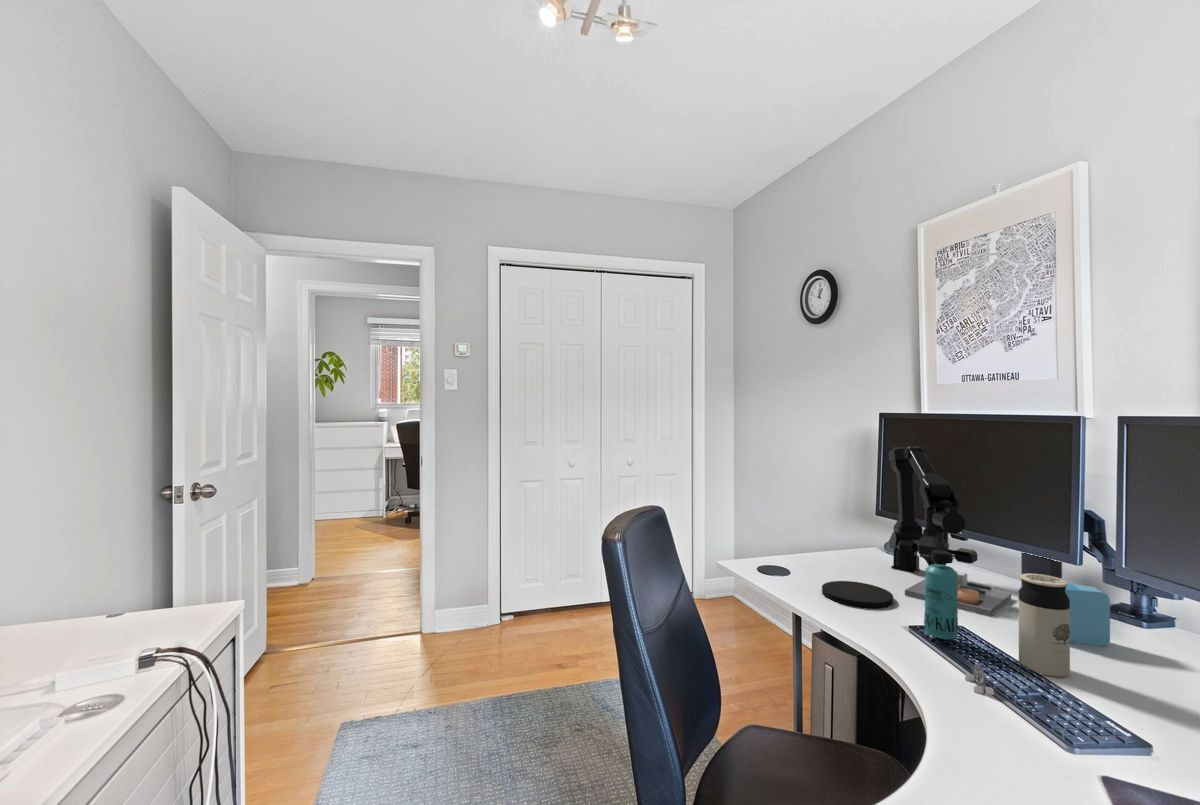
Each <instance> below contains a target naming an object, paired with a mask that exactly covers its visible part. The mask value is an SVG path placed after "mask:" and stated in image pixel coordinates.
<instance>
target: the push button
mask: <svg viewBox="0 0 1200 805" xmlns="http://www.w3.org/2000/svg"><path fill="white" fill-rule="evenodd" d="M957 601H958V602H962V603H966V604H970V605H974V606H978V604H979V592H978V591H975V590H972V589H968V588H957Z"/></svg>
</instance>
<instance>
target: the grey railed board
mask: <svg viewBox="0 0 1200 805" xmlns="http://www.w3.org/2000/svg"><path fill="white" fill-rule="evenodd" d="M925 584H926V578H925V579H923V580H921V581H919V582H916V583H915V584H913V585H912V586H910V587H908V588H906V589H904V596H905V597H909V598H910V597H911V598H914V599H917V600H922V601H924V600H925V590H924V587H925ZM960 588H968V589H972V590H975V591H978V592H979V604H978V605H970V604H966V603H962V602H958V609H959V610H962V611H966V612H971V613H974V614H978V615H981V616H982V615H983V616H987V617H992V616H993V615H994V614H995V613H996V612H998V611H999V609H1001V608H1003V607H1004V606H1005V605H1006V604H1007V603H1009V601H1010V600H1012V593H1010V592H1007V591H1006V592H1005V591H1002V590H996V589H992V587H991V586H989V585H985V584H984V585H983V584H981V583H980V584H979V583H975V582H969V581H967V586H960Z"/></svg>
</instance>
